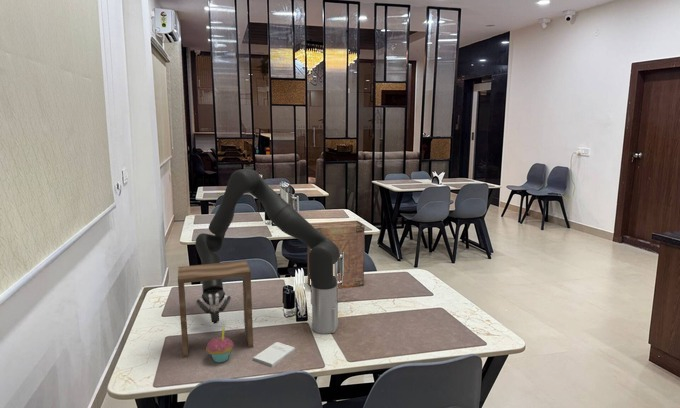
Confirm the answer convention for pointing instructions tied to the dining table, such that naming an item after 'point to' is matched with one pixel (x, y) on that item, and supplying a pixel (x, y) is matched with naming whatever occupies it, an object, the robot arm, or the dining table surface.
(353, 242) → the book
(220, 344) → the cupcake
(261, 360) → the external hard drive
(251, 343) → the wooden arch
